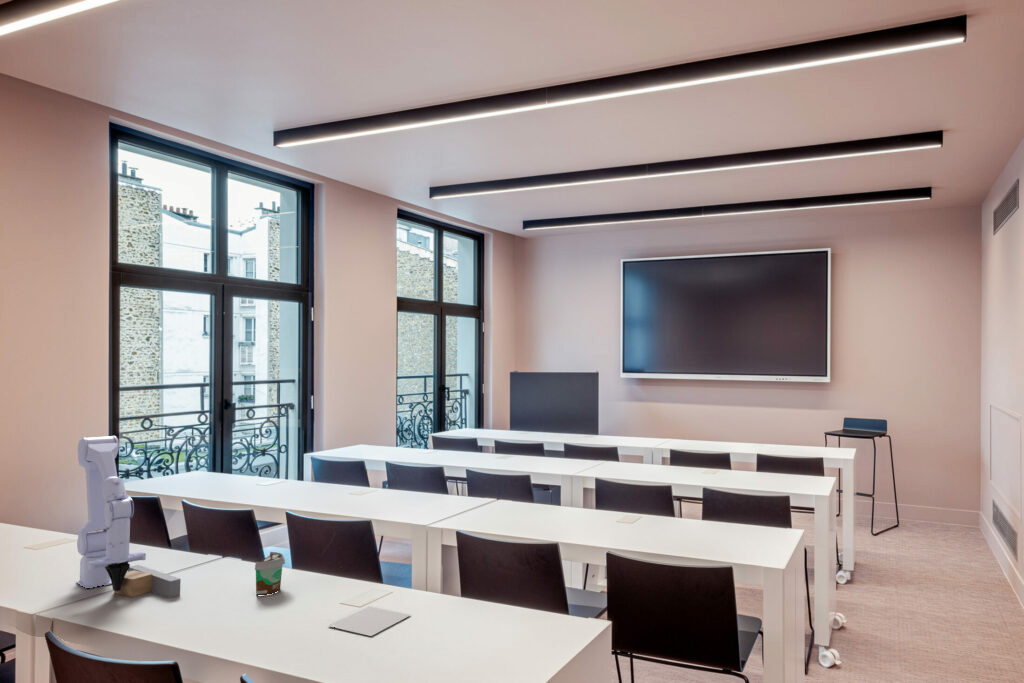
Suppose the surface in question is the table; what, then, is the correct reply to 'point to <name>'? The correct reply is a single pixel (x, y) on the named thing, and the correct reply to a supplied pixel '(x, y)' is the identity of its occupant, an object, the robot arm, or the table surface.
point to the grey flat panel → (369, 620)
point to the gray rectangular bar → (161, 582)
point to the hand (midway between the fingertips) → (116, 590)
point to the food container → (269, 574)
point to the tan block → (135, 584)
